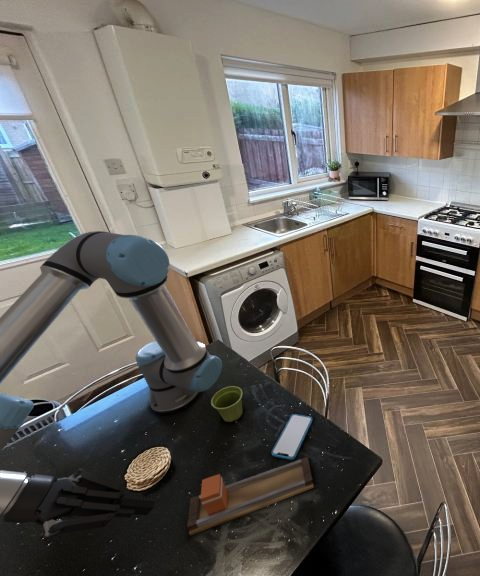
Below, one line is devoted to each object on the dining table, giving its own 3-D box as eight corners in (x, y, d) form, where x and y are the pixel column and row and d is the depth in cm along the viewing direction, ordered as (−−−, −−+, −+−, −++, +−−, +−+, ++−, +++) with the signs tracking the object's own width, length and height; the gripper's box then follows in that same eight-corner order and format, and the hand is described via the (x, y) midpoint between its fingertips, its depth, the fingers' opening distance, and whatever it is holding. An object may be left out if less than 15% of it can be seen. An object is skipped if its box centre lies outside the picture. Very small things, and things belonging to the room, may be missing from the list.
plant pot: (236, 429, 101) (230, 411, 97) (211, 423, 102) (204, 405, 98) (253, 406, 109) (248, 388, 105) (229, 401, 110) (223, 384, 106)
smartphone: (313, 417, 104) (293, 458, 91) (313, 419, 105) (294, 461, 92) (292, 413, 105) (270, 454, 92) (292, 415, 106) (270, 456, 93)
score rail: (194, 502, 82) (190, 496, 80) (308, 461, 92) (307, 455, 90) (190, 535, 75) (186, 529, 74) (313, 487, 85) (312, 481, 84)
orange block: (211, 499, 81) (201, 479, 77) (228, 492, 83) (220, 473, 78) (209, 519, 77) (199, 499, 73) (228, 512, 79) (219, 492, 74)
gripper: (24, 477, 64) (148, 491, 77) (-20, 549, 53) (133, 550, 67) (44, 452, 63) (166, 471, 76) (4, 520, 52) (154, 528, 66)
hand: (150, 508), depth 72 cm, fingers closed
